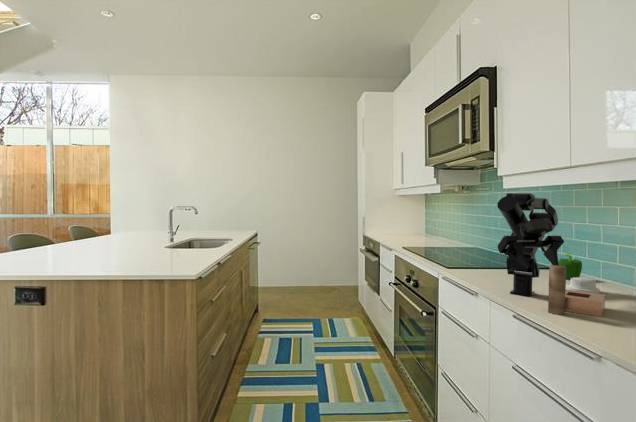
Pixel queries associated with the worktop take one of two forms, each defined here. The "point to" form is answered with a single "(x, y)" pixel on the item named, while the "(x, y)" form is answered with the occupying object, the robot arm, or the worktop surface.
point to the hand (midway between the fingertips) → (542, 266)
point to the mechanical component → (583, 285)
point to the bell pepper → (571, 267)
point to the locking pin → (557, 289)
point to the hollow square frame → (584, 302)
